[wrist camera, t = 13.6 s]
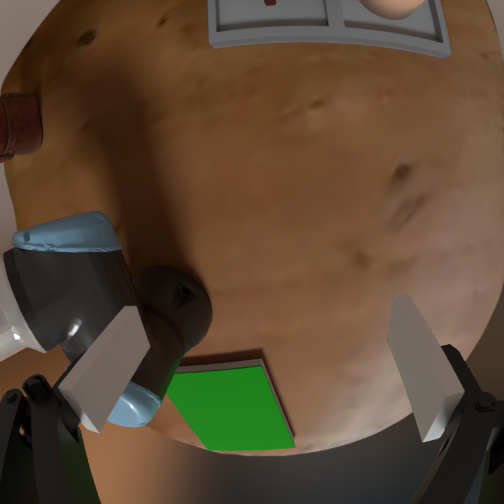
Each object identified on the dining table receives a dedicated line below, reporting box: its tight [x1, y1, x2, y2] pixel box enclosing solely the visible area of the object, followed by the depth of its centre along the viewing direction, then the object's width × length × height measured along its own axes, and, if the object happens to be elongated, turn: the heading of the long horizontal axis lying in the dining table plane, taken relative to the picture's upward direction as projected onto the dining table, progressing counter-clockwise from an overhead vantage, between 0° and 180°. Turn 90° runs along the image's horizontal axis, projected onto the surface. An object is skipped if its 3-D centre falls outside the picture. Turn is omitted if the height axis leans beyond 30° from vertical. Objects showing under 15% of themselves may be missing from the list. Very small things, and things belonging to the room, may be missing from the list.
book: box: [166, 358, 295, 451], centre depth 56 cm, size 22×28×3 cm
